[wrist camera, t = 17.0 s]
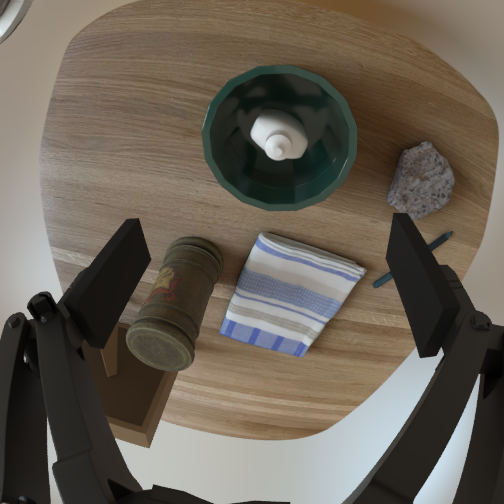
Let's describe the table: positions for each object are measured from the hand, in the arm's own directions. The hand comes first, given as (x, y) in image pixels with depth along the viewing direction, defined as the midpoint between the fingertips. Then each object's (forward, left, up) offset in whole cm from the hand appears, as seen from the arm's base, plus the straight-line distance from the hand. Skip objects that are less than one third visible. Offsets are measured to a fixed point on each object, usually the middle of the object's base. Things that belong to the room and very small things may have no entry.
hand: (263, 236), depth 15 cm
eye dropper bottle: (-1, 0, -24) cm, 24 cm away
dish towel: (+27, +1, -24) cm, 36 cm away
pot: (-1, +1, -24) cm, 24 cm away
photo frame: (+33, -29, -24) cm, 51 cm away
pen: (+19, +20, -24) cm, 37 cm away
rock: (+6, +18, -24) cm, 31 cm away
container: (+19, -13, -24) cm, 34 cm away
